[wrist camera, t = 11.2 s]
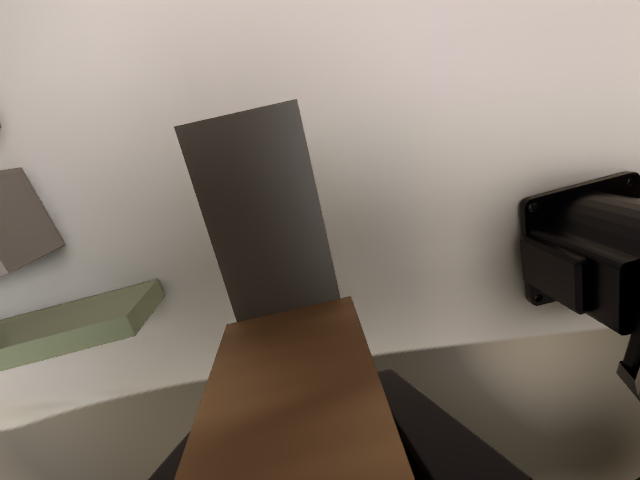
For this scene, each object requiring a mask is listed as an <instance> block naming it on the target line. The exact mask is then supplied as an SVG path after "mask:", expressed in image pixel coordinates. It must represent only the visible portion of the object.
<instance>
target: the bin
mask: <svg viewBox="0 0 640 480" xmlns="http://www.w3.org/2000/svg"><path fill="white" fill-rule="evenodd" d="M164 296H165V295H164V292H163V290H162V288H161V285H160V283H159V280H158V279H156V280H152V281H148V282H145V283H141V284H137V285H133V286H129V287H125V288H122V289H118V290H114V291H110V292H106V293H103V294H99V295H95V296H91V297H87V298H83V299H80V300H76V301H72V302H68V303H64V304H60V305H57V306H53V307H49V308H45V309H41V310H37V311H34V312H30V313H26V314H22V315H18V316H15V317H11V318H7V319H3V320H0V371H4V370H8V369H11V368H15V367H19V366H23V365H26V364H30V363H34V362H38V361H42V360H45V359H49V358H53V357H57V356H61V355H64V354H68V353H72V352H76V351H80V350H83V349H87V348H91V347H95V346H99V345H102V344H106V343H110V342H114V341H118V340H121V339H125V338H129V337H133V336H135V335H136V334H137V333H138V331H139V330H140V329H141V327H142V326H143V325H144V323H145V322H146V321H147V319H148V318H149V316H150V315H151V314H152V312H153V311H154V310H155V308H156V307H157V306H158V304H159V303H160V301H161V300H162V299H163V297H164Z"/></svg>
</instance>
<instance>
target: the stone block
mask: <svg viewBox="0 0 640 480" xmlns="http://www.w3.org/2000/svg"><path fill="white" fill-rule="evenodd" d="M63 245H65V242H64V240H63V238H62V237H61V235H60V233H59V232H58V230H57V228H56V226H55V225H54V223H53V221H52V219H51V218H50V216H49V214H48V212H47V211H46V209H45V207H44V206H43V204H42V202H41V200H40V199H39V197H38V195H37V193H36V192H35V190H34V188H33V186H32V185H31V183H30V181H29V180H28V178H27V176H26V174H25V173H24V171H23V169H22V168H15V169H8V170H1V171H0V276H3V275H6V274H9V273H11V272H13V271H14V270H16V269H18V268H20V267H22V266H24V265H26V264H28V263H30V262H32V261H34V260H36V259H38V258H40V257H42V256H44V255H46V254H47V253H49V252H51V251H53V250H55V249H57V248H59V247H61V246H63Z"/></svg>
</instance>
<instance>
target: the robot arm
mask: <svg viewBox="0 0 640 480" xmlns="http://www.w3.org/2000/svg"><path fill="white" fill-rule="evenodd" d="M629 179H630V180H629ZM628 180H629V183H628V184H627V182H628ZM532 203H533V208H532V209H531V210H529V206H530V205H531V204H532ZM520 218H521V232H522V239H521V241H520V243H521V256H522V270H523V279H524V281H525V286H526V298H527V300H528V301H529V302H530V303H532V304H533V305H535V306H539V305H543V304H547V303H551V302H554V301H558V302H560V303H561V304H563V305H565V306H566V307H568V308H569V309H571V310H573V311H574V312H576V313H577V314H580V315H581V314H585V313H586V314H587V315H589V316H591V317H592V318H594V319H596V320H597V321H599V322H601V323H602V324H604V325H606V326H607V327H609V328H611V329H612V330H614V331H616V332H617V333H619V334H620V335H629V334H631V336H630V339H629V342H628V346H627V349H626V352H625V355H624V358H623V361H620V362H619V365H618V368H617V374H618V375H619V377H620V378H621V379H622V380H623V381H624V383H625V384H626V385H627V386H628V388H629V389H630V390H631V391H632V392H633V394H634V395H635V396H636V397H637V399H638V400H639V401H640V175H639V174H638V173H636V172H622V173H619V174H615V175H611V176H607V177H603V178H599V179H596V180H592V181H588V182H584V183H580V184H577V185H573V186H569V187H565V188H561V189H557V190H554V191H550V192H546V193H542V194H538V195H535V196H531V197H527V198H525V199H524V200H523V201H522V202H521V204H520ZM538 294H539V295H538ZM536 295H538V297H537V298H535V297H536ZM377 373H378V376H379V379H380V382H381V384H382V387H383V390H384V393H385V396H386V399H387V402H388V404H389V407H390V410H391V413H392V416H393V419H394V422H395V424H396V427H397V430H398V433H399V436H400V439H401V442H402V445H403V447H404V450H405V453H406V456H407V459H408V462H409V465H410V467H411V470H412V473H413V476H414V479H415V480H532V478H531V477H530V476H529V475H527V474H526V473H525V472H523V471H522V470H521V469H520V468H518V467H517V466H516V465H514V464H513V463H512V462H511V461H509V460H508V459H507V458H505V457H504V456H503V455H502V454H500V453H499V452H498V451H497V450H495V449H494V448H493V447H491V446H490V445H489V444H488V443H486V442H485V441H484V440H483V439H481V438H480V437H479V436H477V435H476V434H475V433H474V432H472V431H471V430H470V429H468V428H467V427H466V426H465V425H463V424H462V423H461V422H459V421H458V420H457V419H456V418H454V417H453V416H452V415H451V414H449V413H448V412H447V411H445V410H444V409H443V408H441V407H440V406H439V405H438V404H436V403H435V402H434V401H432V400H431V399H430V398H429V397H427V396H426V395H425V394H424V393H422V392H421V391H420V390H419V389H417V388H416V387H415V386H413V385H412V384H411V383H409V382H408V381H407V380H406V379H404V378H403V377H402V376H401V375H399V374H398V373H397V372H395V371H394V370H393V369H390V368H388V369H384V370H379V371H377ZM190 431H191V430H190ZM190 431H189V433H188V434H187V435H186V436H185V437H184V438H183V440H182V441H181V442H180V443H179V444H178V445H177V446H176V448H175V449H174V450H173V451H172V452H171V453H170V455H169V456H168V457H167V458H166V459H165V460H164V462H163V463H162V464H161V465H160V466H159V467H158V469H156V471H155V472H154V473H153V474H152V475H151V477H150V478H149V479H148V480H174V479H175V476H176V473H177V470H178V467H179V464H180V461H181V458H182V455H183V452H184V449H185V446H186V443H187V440H188V437H189V434H190Z"/></svg>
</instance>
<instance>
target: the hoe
mask: <svg viewBox="0 0 640 480" xmlns="http://www.w3.org/2000/svg"><path fill="white" fill-rule="evenodd" d="M174 128H175V131H176V134H177V137H178V141H179V144H180V147H181V150H182V153H183V156H184V159H185V162H186V165H187V168H188V172H189V175H190V178H191V181H192V184H193V187H194V190H195V193H196V196H197V199H198V202H199V206H200V209H201V212H202V215H203V218H204V221H205V224H206V227H207V230H208V233H209V237H210V240H211V243H212V246H213V249H214V252H215V255H216V258H217V261H218V264H219V268H220V271H221V274H222V277H223V280H224V283H225V286H226V289H227V292H228V295H229V299H230V302H231V305H232V308H233V311H234V314H235V317H236V320H237V322H236V323H232V324H227V325H226V328H225V331H224V334H223V337H222V340H221V343H220V346H219V349H218V352H217V355H216V358H215V361H214V364H213V367H212V370H211V373H210V376H209V378H208V381H207V384H206V387H205V390H204V394H203V396H202V399H201V402H200V405H199V408H198V411H197V414H196V417H195V420H194V423H193V426H192V429H191V431H190V434H189V437H188V440H187V443H186V446H185V449H184V452H183V455H182V458H181V461H180V464H179V467H178V470H177V473H176V476H175V479H174V480H415V479H414V476H413V473H412V470H411V467H410V465H409V462H408V459H407V456H406V453H405V450H404V447H403V445H402V442H401V439H400V436H399V433H398V430H397V427H396V424H395V422H394V419H393V416H392V413H391V410H390V407H389V404H388V402H387V399H386V396H385V393H384V390H383V387H382V384H381V382H380V379H379V376H378V373H377V370H376V367H375V364H374V361H373V359H372V356H371V353H370V350H369V347H368V344H367V341H366V339H365V336H364V333H363V330H362V327H361V324H360V321H359V318H358V316H357V313H356V310H355V307H354V304H353V301H352V298H351V296H350V297H345V298H341V299H340V294H339V290H338V285H337V281H336V276H335V271H334V267H333V262H332V258H331V253H330V249H329V244H328V239H327V235H326V230H325V226H324V221H323V217H322V212H321V207H320V203H319V198H318V194H317V189H316V185H315V180H314V175H313V171H312V166H311V162H310V157H309V153H308V148H307V143H306V139H305V134H304V130H303V125H302V121H301V116H300V111H299V107H298V102H297V99H295V100H291V101H286V102H282V103H277V104H273V105H269V106H264V107H260V108H255V109H251V110H246V111H242V112H237V113H233V114H229V115H224V116H220V117H215V118H211V119H206V120H202V121H197V122H193V123H189V124H184V125H180V126H175V127H174Z"/></svg>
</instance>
